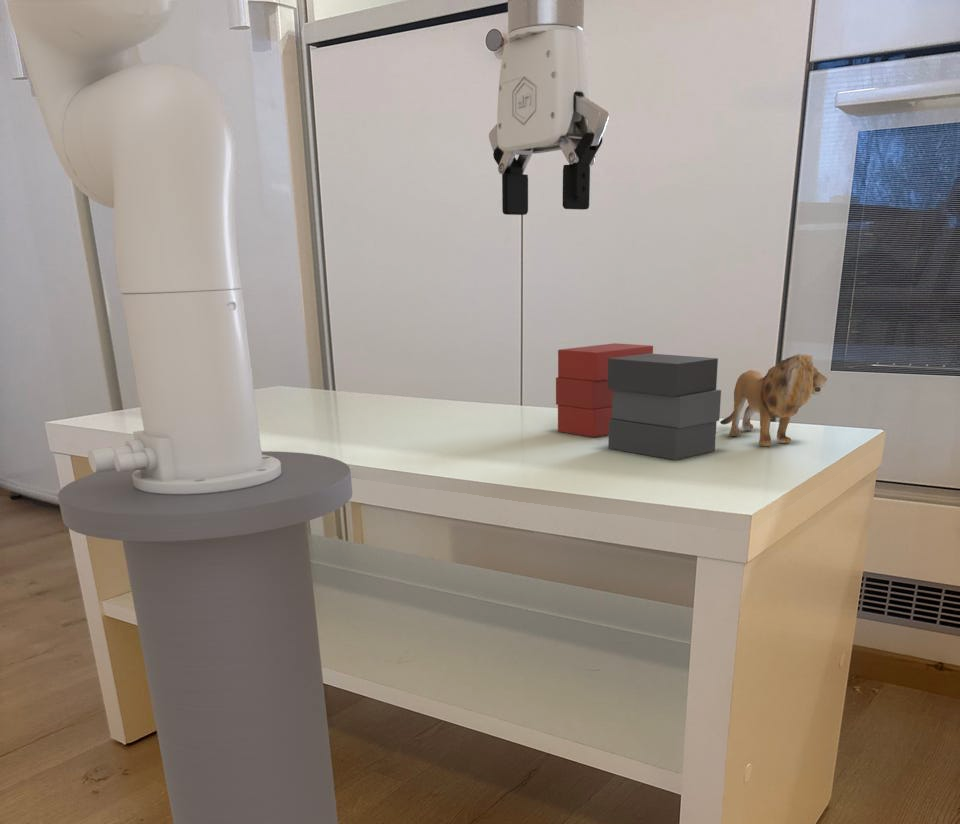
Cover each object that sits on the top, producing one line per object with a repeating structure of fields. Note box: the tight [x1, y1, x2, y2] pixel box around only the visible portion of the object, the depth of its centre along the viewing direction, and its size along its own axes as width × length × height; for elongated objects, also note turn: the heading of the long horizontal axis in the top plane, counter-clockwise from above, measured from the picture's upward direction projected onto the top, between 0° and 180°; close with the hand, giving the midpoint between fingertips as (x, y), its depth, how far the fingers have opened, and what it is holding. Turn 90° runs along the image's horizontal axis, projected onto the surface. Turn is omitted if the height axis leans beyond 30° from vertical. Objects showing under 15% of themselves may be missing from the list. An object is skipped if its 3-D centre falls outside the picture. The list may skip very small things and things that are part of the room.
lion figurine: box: [719, 353, 828, 447], centre depth 98 cm, size 15×5×9 cm, turn 21°
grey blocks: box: [607, 353, 722, 461], centre depth 95 cm, size 6×9×9 cm
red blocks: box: [555, 376, 612, 438], centre depth 108 cm, size 6×9×6 cm
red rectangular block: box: [557, 342, 654, 381], centre depth 106 cm, size 6×9×3 cm, turn 128°
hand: (544, 211), depth 100 cm, fingers open, 9 cm apart
